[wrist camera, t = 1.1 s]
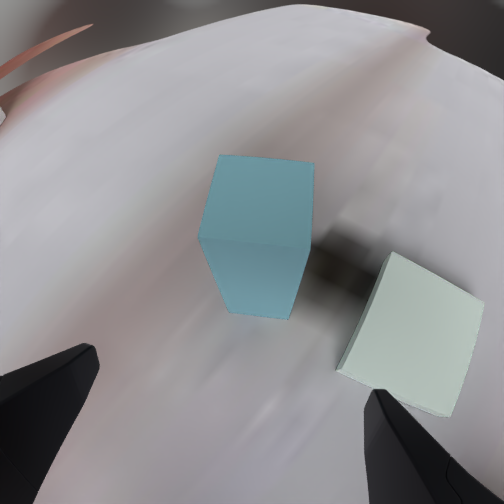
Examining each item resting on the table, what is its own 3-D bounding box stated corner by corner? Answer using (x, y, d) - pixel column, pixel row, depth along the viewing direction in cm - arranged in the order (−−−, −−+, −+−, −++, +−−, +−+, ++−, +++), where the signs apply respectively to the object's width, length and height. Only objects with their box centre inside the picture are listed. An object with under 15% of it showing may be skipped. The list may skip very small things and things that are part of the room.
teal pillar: (288, 319, 23) (310, 249, 12) (228, 312, 23) (197, 236, 12) (294, 264, 25) (314, 163, 14) (238, 258, 25) (219, 154, 14)
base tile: (437, 416, 18) (450, 417, 17) (335, 370, 21) (341, 368, 19) (472, 309, 22) (484, 302, 20) (383, 261, 24) (392, 251, 23)
